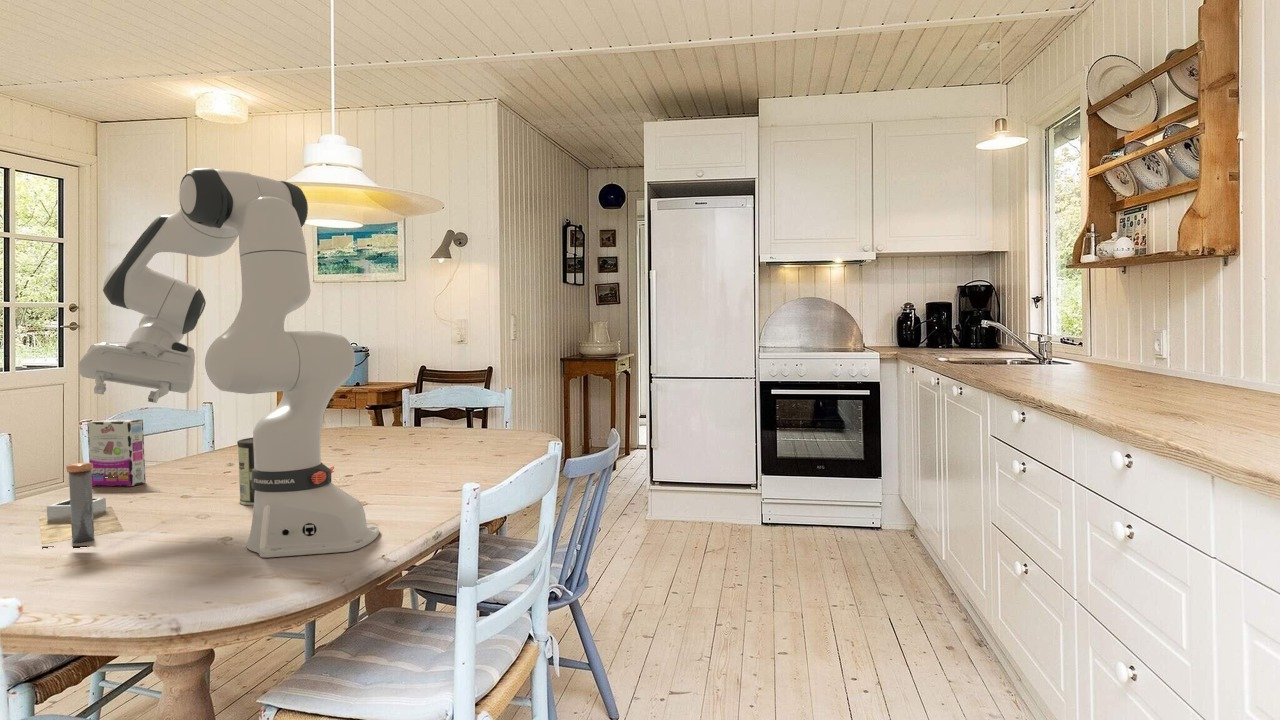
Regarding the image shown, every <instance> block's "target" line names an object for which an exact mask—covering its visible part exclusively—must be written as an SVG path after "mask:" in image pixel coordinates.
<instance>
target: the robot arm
mask: <svg viewBox="0 0 1280 720" xmlns="http://www.w3.org/2000/svg"><path fill="white" fill-rule="evenodd" d="M179 185H180V186H179V192H178V193H179V195H178V198H179V206H180V209H179V210H178V211H177V212H175V213H172V214H161V215H159V216H158V217H157V218H155V219H154V220H153V221H151V223H150V225H149V226H148V227H147V228H146V229H145V230H144V231H143V232H142V233H141V235H140V237H139V238H138V239H137V240H136V242H135V243H134V244H133V245H132V247H130V249H129V251H127V253H126V255H125V257H124V258H123V259H122V260H121V261H120V263H118V264H117V265H115V266H114V267H113V268H112V269H111V270H110V271H109V273H108V274H107V276H106V277H105V280H104V282H103V287H102V288H103V289H102V291H103V293H104V296H105V298H106V299H107V300H108V302H109V303H110V304H111V305H113V306H116V307H120V308H123V309H127V310H131V311H134V312H137V313H140V314H142V315H143V316H142V317H141V319H140V321H139V323H138V327H137V328H136V329H135V330H134V331H133V333H132V335H131V337H130V338H129V339H128V341H127V343H126V345H122V344H121V345H120V344H111V343H108V342H100V343H95V344H93V343H92V344H91V345H90V347H89V348H88V349H87V351H86V353H85V354H84V355H83V356H82V357H81V359H80V361H78V371H79V372H78V373H79V374H80V376H81V377H82V378H86V379H87V378H88V379H93V380H95V381H94V382H95V385H94V389H93V393H94V394H96V395H101V396H102V395H104V394H105V392H106V391H107V384H106V383H104V382H105V381H106V382H110V383H111V382H112V383H118V384H124V385H130V386H136V387H143V388H148V389H155V390H151V391H150V392H149V394H148V397H147V399H148V400H147V402H148V403H153V404H154V403H155V404H156V403H158V402H159V400H160V398H163V397H164V396H165V395H167V394H169V392H174V393H180V394H186V393H188V392H190V391H191V389H192V386H193V383H194V377H195V376H194V375H195V365H196V360H195V359H196V356H195V349H194V348H192V347H191V346H189V345H186V344H184V343H181V342H180V341H182V340H183V338H184V336H185V334H188V333H191V331H193V330H195V328H196V326H197V325H198V322H199V319H200V318H201V316H202V315H203V312H204V310H205V307H206V304H207V303H206V299H205V296H204V294H203V292H202V290H201V289H200V288H198V287H196V286H194V285H192V284H190V283H188V282H184V281H182V280H180V279H176V278H174V277H171V276H168V275H166V274H163V273H161V272H158V271H156V270H154V269H153V268H151V267H149V266H147V265H148V264H149V263H150V261H151V260H152V259H153V257H155V255H156V254H159V253H176V254H183V255H186V256H187V255H188V256H193V257H200V258H207V257H214V256H215V257H216V256H218V255H219V256H220V255H221V254H223V253H226V252H227V251H228V250H229V249H231V247H233V245H234V243H235V242H236V240H237V239H238V253H239V260H240V262H239V263H240V275H241V302H240V306H239V310H238V312H237V315H236V317H235V318H234V321H233V322H232V324H231V325H230V326H229V328H228V329H226V331H224V332H223V333H222V334H221V335H220V336H218V337H217V338H215V340H214V341H213V342H212V343H211V344H210V345H209V347H208V348H207V352H206V355H205V356H204V357H205V358H204V368H205V372H206V375H207V377H208V379H209V381H211V383H212V385H213V386H215V387H216V388H217V389H218V390H219V391H221V392H228V393H235V394H246V395H252V394H253V395H254V394H255V395H256V394H267V393H277V392H278V393H279V392H282V397H281V399H280V402H279V403H278V405H277V406H276V407H275V409H273V410H272V411H271V412H269V413H267V414H265V415H264V416H263V417H261V418H260V419H259V420H258V421H257V422H256V424H255V426H254V429H253V431H252V435H253V437H252V438H253V444H254V468H253V469H252V494H253V498H254V505H253V512H252V521H251V526H250V530H249V531H250V532H249V536H248V540H247V543H246V548H247V549H248V550H250V551H251V552H254V553H257V554H258V555H259V557H261V558H276V557H289V556H290V557H291V556H293V557H294V556H305V555H306V556H307V555H321V554H332V553H333V554H334V553H347V552H352V551H355V550H359V549H362V548H364V547H366V546H368V545H370V543H372V542H373V541H374V540H376V539H377V538H378V536H379V535H380V530H379V526H378V525H376V524H368V523H367V522H368V521H367V518H366V512H365V508H364V506H363V504H362V502H361V501H360V500H359V499H357V498H356V497H354V496H352V495H351V494H349V493H348V492H346V491H345V490H344V489H341V488H340V487H339V486H337V485H335V484H334V483H333V482H332V473H333V474H334V472H335V470H334V469H335V466H330V467H329V466H326V465H325V464H324V463H323V462H322V461H321V460H322V459H321V458H322V457H321V456H322V455H321V453H322V452H321V441H322V439H321V438H322V426H323V425H322V424H323V418H324V415H325V412H326V409H327V407H328V404H329V403H330V401H331V399H332V397H333V396H334V394H335V393H336V392H337V390H338V389H339V388H340V387H342V385H344V383H346V382H347V381H348V380H349V378H350V377H351V376H352V374H353V372H354V370H355V366H356V354H355V351H354V347H353V346H352V344H351V343H350V341H349V340H348V339H347V338H346V337H345V336H344V335H341V334H336V333H331V332H327V331H326V332H325V331H321V330H313V331H312V330H311V331H309V330H308V331H307V330H305V331H303V330H302V331H301V330H300V331H298V330H297V331H296V330H295V331H293V330H292V331H290V330H289V331H285V320H286V317H287V315H288V314H291V313H292V312H294V311H296V310H298V309H299V308H301V307H303V306H304V305H305V304H306V302H307V301H308V300H309V299H310V295H311V283H310V273H309V265H308V255H307V248H306V246H307V245H306V242H305V241H306V240H305V236H304V232H303V228H302V227H304V226H305V223H306V221H307V220H308V219H307V218H308V211H309V205H308V201H307V197H306V196H305V194H304V193H305V192H303V190H302V189H301V188H300V187H299V186H298V185H296V184H293V183H291V182H288V181H285V180H281V179H280V180H276V179H273V178H269V177H264V176H261V175H256V174H251V173H249V172H242V171H235V170H225V169H218V168H217V169H215V168H212V167H200V168H199V167H198V168H192V169H190V170H189V171H187V173H185V175H184V176H183V177H182V179H181V182H180V184H179Z"/></svg>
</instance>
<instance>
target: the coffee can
mask: <svg viewBox="0 0 1280 720" xmlns="http://www.w3.org/2000/svg"><path fill="white" fill-rule="evenodd" d="M237 450H238V451H237V455H238V456H237V457H238V479H239V485H238V486H239V504H241V505H242V506H254V498H253V494H252V469H253V468H254V444H253V437H246V438H242V439H239V440H237Z"/></svg>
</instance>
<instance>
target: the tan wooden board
mask: <svg viewBox="0 0 1280 720" xmlns="http://www.w3.org/2000/svg"><path fill="white" fill-rule="evenodd" d="M38 518H39V519H38V520H39V526H40V527H39V529H40V537H41V544H42V545H43V544H49V543H50V544H51V543H56V542H57V543H58V542H63V541H68V540H69V541H70V540H72V527H71V521H47V515H43V516H38ZM93 519H94V537H95V536H100V535H107V534H112V533H114V534H115V533H118V532H124V528H123V527H122V524H121V521H119V518H118V517H117V514H116V513H115V511H114V509H113V507H112V506H106V512H104V513H101V514H99V515H96V516H93ZM54 546H55V545H54ZM54 546H53V545H52V546H51V545H50V546H49V545H47V546H41V549H42V550H44V549H43V548H46V549H49V548H48V547H52V548H55V547H54Z"/></svg>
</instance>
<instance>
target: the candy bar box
mask: <svg viewBox="0 0 1280 720" xmlns="http://www.w3.org/2000/svg"><path fill="white" fill-rule="evenodd" d="M86 425H87V440H88V443H87V444H88V461H89V462H88V463H93V469H92V470H91V477H92V486H96V487H99V488H100V487H102V486H126V487H131V488H132V487H135V485H136V486H138V485H143V484H145V483H146V463H145V439H144V420H143V419H100V420H99V419H98V420H92V421H88V422H87V424H86ZM113 476H114V477H113ZM105 477H108V478H105ZM142 483H143V484H142ZM126 487H125V488H126Z"/></svg>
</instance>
